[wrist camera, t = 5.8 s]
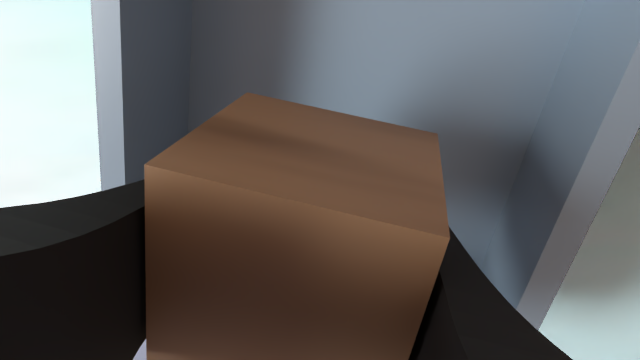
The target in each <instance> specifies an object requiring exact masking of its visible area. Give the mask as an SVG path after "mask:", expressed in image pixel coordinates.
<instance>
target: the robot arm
mask: <svg viewBox="0 0 640 360" xmlns="http://www.w3.org/2000/svg"><path fill="white" fill-rule="evenodd" d="M449 233H450V240H449V243H448V246H447V249H446V251H445V254H444V257H443V260H442V263H441V266H440V269H439V272H438V275H437V278H436V281H435V283H434V286H433V289H432V292H431V295H430V298H429V301H428V304H427V307H426V310H425V313H424V315H423V318H422V321H421V324H420V327H419V330H418V333H417V336H416V339H415V342H414V345H413V347H412V350H411V353H410V356H409V359H408V360H572V359H571V358H570V357H569V356H568V355H566V354H565V353H564V352H563V351H561V350H560V349H559V348H558V347H556V346H555V345H554V344H553V343H552V342H550V341H549V340H548V339H547V338H546V337H545V336H543V335H542V334H541V333H540V332H539V331H538V330H537V329H536V328H535V327H534V326H533V325H531V324H530V323H529V322H528V321H527V320H526V319H525V318H524V317H523V316H522V315H521V314H520V313H519V312H518V311H517V310H516V309H515V308H514V307H513V306H512V305H511V304H510V303H509V302H508V301H507V300H506V299H505V298H504V296H503V295H502V294H501V293H500V292H499V291H498V290H497V288H496V287H495V286H494V285H493V284H492V283H491V282H490V280H489V279H488V278H487V277H486V276H485V274H484V273H483V272H482V271H481V269H480V268H479V267H478V266H477V264H476V263H475V262H474V260H473V259H472V258H471V256H470V255H469V254H468V252H467V251H466V250H465V248H464V247H463V245H462V244H461V242H460V241H459V240H458V238H457V237H456V235H455V234H454V233H453V231H452V230H451V228H450V227H449ZM0 360H147V359H146V271H145V182H144V179H143V180H140V181H137V182H134V183H130V184H126V185H122V186H119V187H115V188H111V189H108V190H104V191H100V192H96V193H92V194H88V195H83V196H78V197H74V198H68V199H63V200H57V201H52V202H46V203H39V204H30V205H22V206H14V207H5V208H0Z"/></svg>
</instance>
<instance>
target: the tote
mask: <svg viewBox="0 0 640 360" xmlns="http://www.w3.org/2000/svg"><path fill="white" fill-rule="evenodd" d="M91 13H92V30H93V48H94V66H95V84H96V101H97V119H98V137H99V155H100V172H101V190H102V191H104V190H108V189H111V188H115V187H119V186H122V185H126V184H130V183H134V182H137V181H140V180H143V179H144V164H146V163H147V162H149V161H150V160H151V159H153V158H154V157H156V156H157V155H159V154H160V153H161V152H163V151H164V150H166V149H167V148H168V147H170V146H171V145H173V144H174V143H176V142H177V141H178V140H180V139H181V138H183V137H184V136H186V135H187V134H188V133H190V132H191V131H193V130H194V129H196V128H197V127H198V126H200V125H201V124H203V123H204V122H206V121H207V120H208V119H210V118H211V117H213V116H214V115H216V114H217V113H218V112H220V111H221V110H223V109H224V108H225V107H227V106H228V105H230V104H231V103H233V102H234V101H235V100H237V99H238V98H240V97H241V96H243V95H244V94H245V93H247V92H248V93H253V94H258V95H262V96H267V97H271V98H276V99H281V100H285V101H290V102H294V103H299V104H304V105H308V106H313V107H317V108H322V109H327V110H331V111H336V112H340V113H345V114H350V115H354V116H359V117H364V118H368V119H373V120H377V121H382V122H387V123H391V124H396V125H400V126H405V127H410V128H414V129H419V130H423V131H428V132H433V133H437V134H438V140H439V149H440V157H441V166H442V174H443V183H444V191H445V200H446V208H447V216H448V225H449V227H450V228H451V230H452V231H453V233H454V234H455V235H456V237H457V238H458V240H459V241H460V242H461V244H462V245H463V247H464V248H465V250H466V251H467V252H468V254H469V255H470V256H471V258H472V259H473V260H474V262H475V263H476V264H477V266H478V267H479V268H480V269H481V271H482V272H483V273H484V274H485V276H486V277H487V278H488V279H489V280H490V282H491V283H492V284H493V285H494V286H495V287H496V288H497V290H498V291H499V292H500V293H501V294H502V295H503V296H504V298H505V299H506V300H507V301H508V302H509V303H510V304H511V305H512V306H513V307H514V308H515V309H516V310H517V311H518V312H519V313H520V314H521V315H522V316H523V317H524V318H525V319H526V320H527V321H528V322H529V323H530V324H531V325H533V326H534V327H535V328H536V329H537V330H539V328H540V326H541V324H542V322H543V320H544V318H545V316H546V314H547V312H548V310H549V308H550V306H551V304H552V302H553V300H554V297H555V295H556V293H557V291H558V289H559V287H560V285H561V283H562V281H563V279H564V277H565V275H566V273H567V271H568V269H569V267H570V265H571V263H572V261H573V259H574V257H575V255H576V253H577V251H578V249H579V247H580V245H581V243H582V241H583V239H584V237H585V235H586V233H587V231H588V229H589V227H590V225H591V223H592V221H593V219H594V217H595V215H596V213H597V211H598V209H599V207H600V205H601V203H602V201H603V199H604V197H605V195H606V193H607V191H608V189H609V187H610V185H611V183H612V181H613V179H614V177H615V175H616V173H617V171H618V169H619V167H620V165H621V163H622V161H623V159H624V157H625V155H626V153H627V151H628V149H629V147H630V145H631V143H632V141H633V139H634V137H635V135H636V133H637V131H638V129H639V127H640V0H91Z"/></svg>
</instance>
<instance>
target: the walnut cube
mask: <svg viewBox="0 0 640 360" xmlns="http://www.w3.org/2000/svg"><path fill="white" fill-rule="evenodd" d="M144 182H145V271H146V359H147V360H408V359H409V356H410V353H411V350H412V347H413V345H414V342H415V339H416V336H417V333H418V330H419V327H420V324H421V321H422V318H423V315H424V313H425V310H426V307H427V304H428V301H429V298H430V295H431V292H432V289H433V286H434V283H435V281H436V278H437V275H438V272H439V269H440V266H441V263H442V260H443V257H444V254H445V251H446V249H447V246H448V243H449V240H450V233H449V225H448V216H447V208H446V200H445V191H444V183H443V174H442V166H441V157H440V149H439V140H438V134H437V133H433V132H428V131H423V130H419V129H414V128H410V127H405V126H400V125H396V124H391V123H387V122H382V121H377V120H373V119H368V118H364V117H359V116H354V115H350V114H345V113H340V112H336V111H331V110H327V109H322V108H317V107H313V106H308V105H304V104H299V103H294V102H290V101H285V100H281V99H276V98H271V97H267V96H262V95H258V94H253V93H248V92H247V93H245V94H244V95H243V96H241V97H240V98H238V99H237V100H235V101H234V102H233V103H231V104H230V105H228V106H227V107H225V108H224V109H223V110H221V111H220V112H218V113H217V114H216V115H214V116H213V117H211V118H210V119H208V120H207V121H206V122H204V123H203V124H201V125H200V126H198V127H197V128H196V129H194V130H193V131H191V132H190V133H188V134H187V135H186V136H184V137H183V138H181V139H180V140H178V141H177V142H176V143H174V144H173V145H171V146H170V147H168V148H167V149H166V150H164V151H163V152H161V153H160V154H159V155H157V156H156V157H154V158H153V159H151V160H150V161H149V162H147V163H146V164H144Z"/></svg>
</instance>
